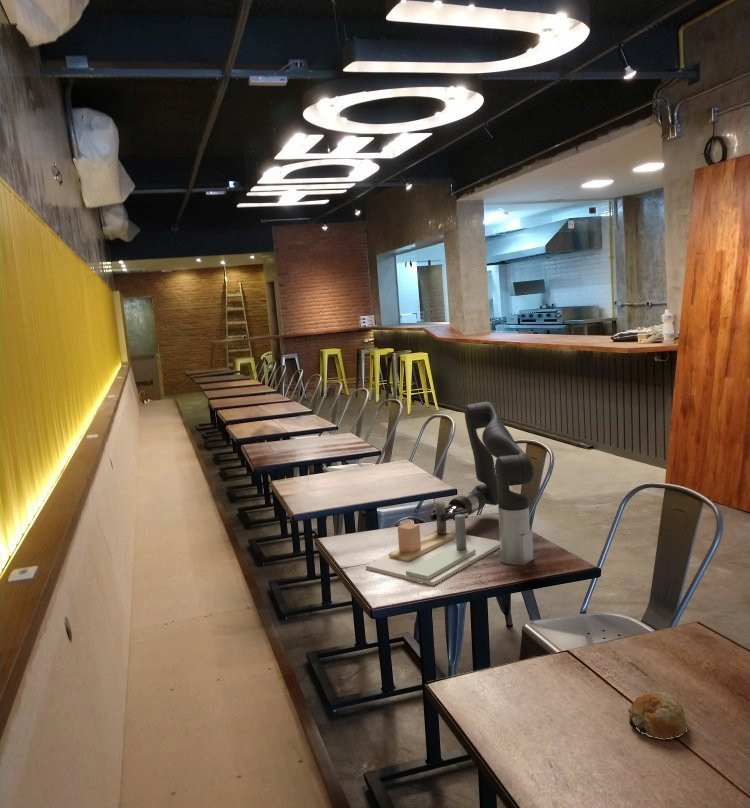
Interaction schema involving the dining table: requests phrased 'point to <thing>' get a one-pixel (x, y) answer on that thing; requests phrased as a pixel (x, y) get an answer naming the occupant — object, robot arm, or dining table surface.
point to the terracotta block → (409, 538)
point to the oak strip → (428, 538)
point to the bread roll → (658, 715)
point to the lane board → (400, 566)
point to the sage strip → (445, 555)
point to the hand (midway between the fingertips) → (436, 518)
